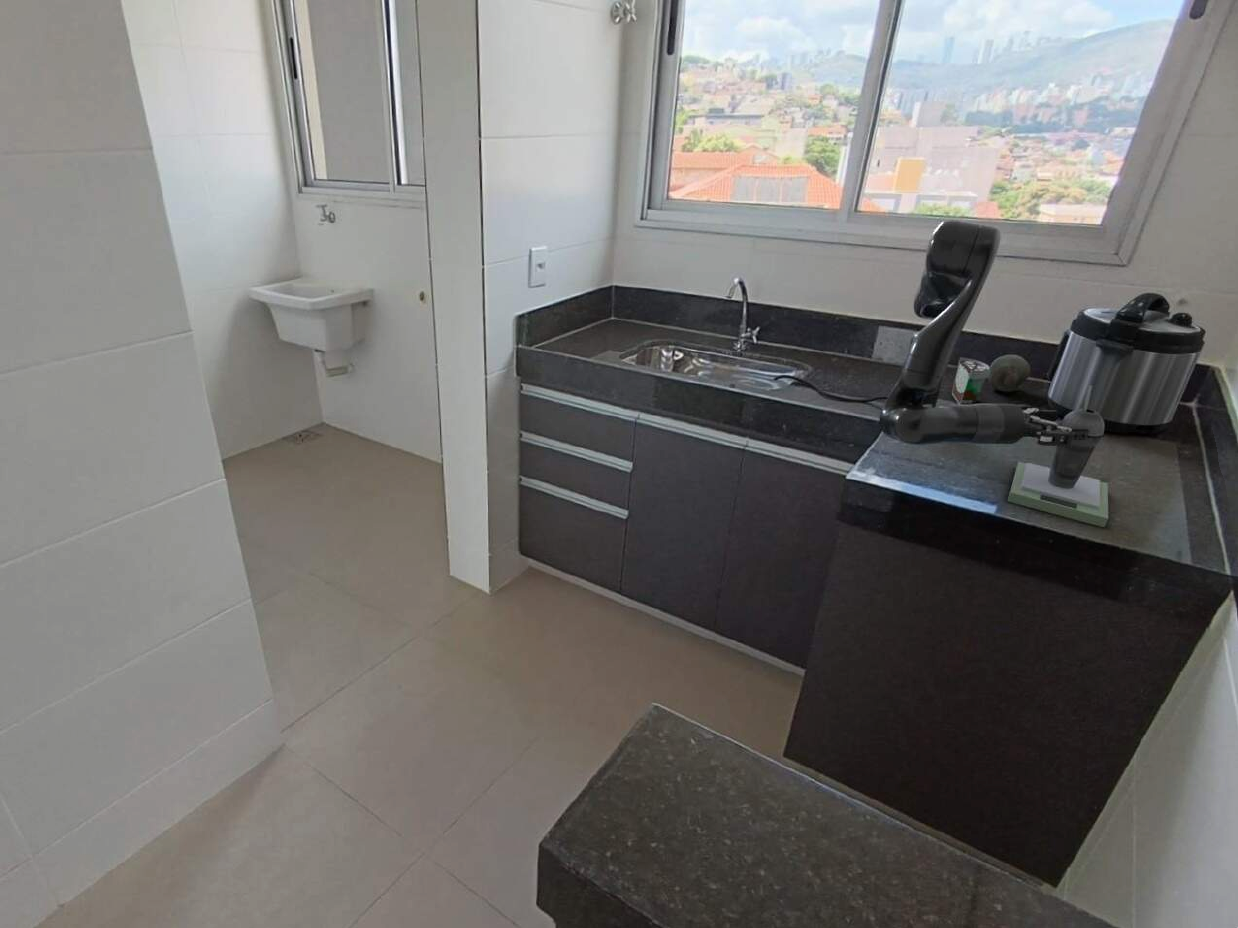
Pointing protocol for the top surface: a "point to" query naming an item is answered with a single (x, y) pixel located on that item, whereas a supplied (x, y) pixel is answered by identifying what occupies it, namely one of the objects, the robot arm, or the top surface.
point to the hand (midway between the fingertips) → (1071, 424)
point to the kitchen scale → (1060, 495)
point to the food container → (969, 381)
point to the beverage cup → (1076, 446)
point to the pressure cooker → (1126, 364)
